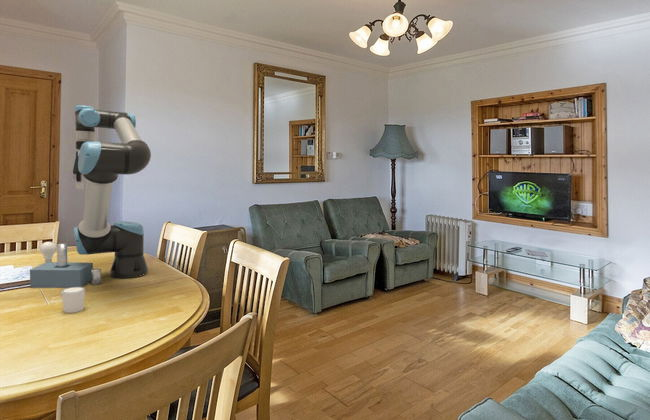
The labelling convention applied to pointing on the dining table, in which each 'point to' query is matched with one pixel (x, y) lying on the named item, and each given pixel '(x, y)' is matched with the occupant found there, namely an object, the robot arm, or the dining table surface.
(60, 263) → the tall pin
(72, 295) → the shot glass
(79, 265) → the hole block
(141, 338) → the dining table surface
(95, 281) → the short pin
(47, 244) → the lightbulb
